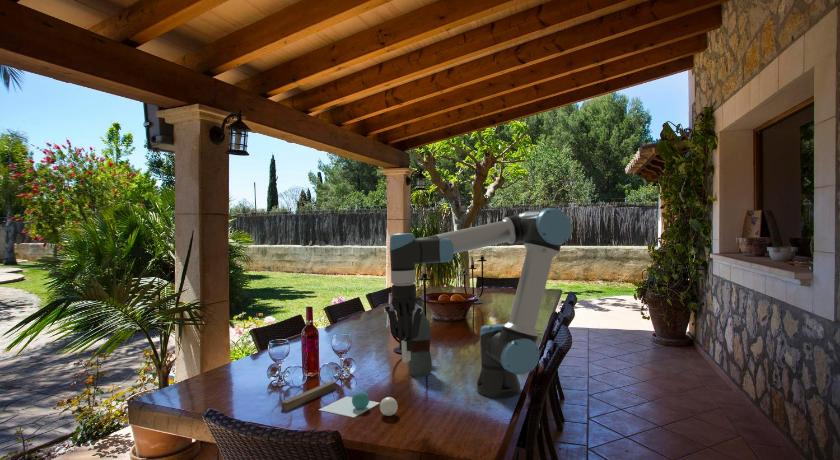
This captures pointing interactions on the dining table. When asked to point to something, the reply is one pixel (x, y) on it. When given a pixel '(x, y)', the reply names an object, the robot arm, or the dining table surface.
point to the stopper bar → (308, 395)
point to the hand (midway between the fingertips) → (406, 361)
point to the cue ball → (388, 406)
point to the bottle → (421, 348)
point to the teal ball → (360, 400)
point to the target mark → (347, 407)
